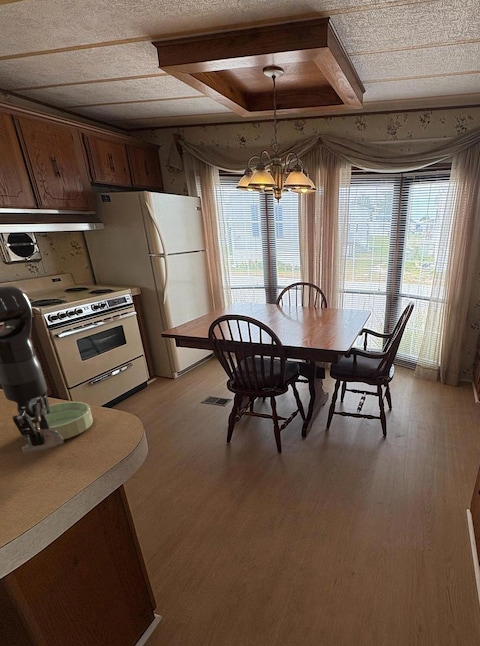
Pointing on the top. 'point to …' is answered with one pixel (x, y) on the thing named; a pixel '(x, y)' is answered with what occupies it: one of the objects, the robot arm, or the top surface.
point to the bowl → (69, 418)
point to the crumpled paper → (49, 439)
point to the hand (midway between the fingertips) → (42, 438)
